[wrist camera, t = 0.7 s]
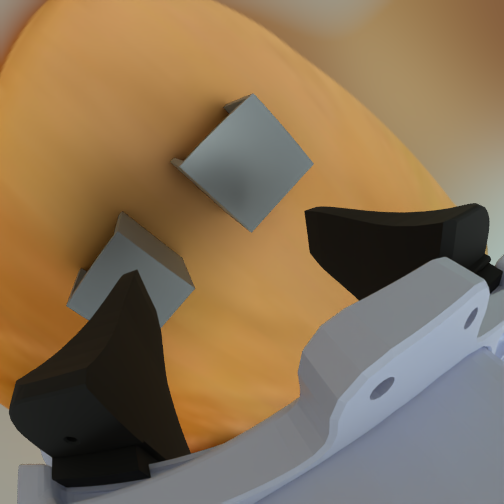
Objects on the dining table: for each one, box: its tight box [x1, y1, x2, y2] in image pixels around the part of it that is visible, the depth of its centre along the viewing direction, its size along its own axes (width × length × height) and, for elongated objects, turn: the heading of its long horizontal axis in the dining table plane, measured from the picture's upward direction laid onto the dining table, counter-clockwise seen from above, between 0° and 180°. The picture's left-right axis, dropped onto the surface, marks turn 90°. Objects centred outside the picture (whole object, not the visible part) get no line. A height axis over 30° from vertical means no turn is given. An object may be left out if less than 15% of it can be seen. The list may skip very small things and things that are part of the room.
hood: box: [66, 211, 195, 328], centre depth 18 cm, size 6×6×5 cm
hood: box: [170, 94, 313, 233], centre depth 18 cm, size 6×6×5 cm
